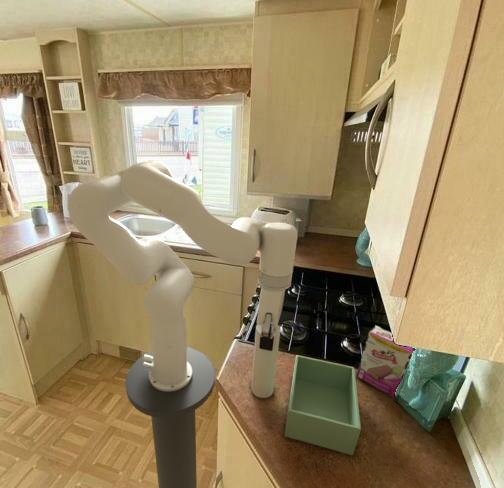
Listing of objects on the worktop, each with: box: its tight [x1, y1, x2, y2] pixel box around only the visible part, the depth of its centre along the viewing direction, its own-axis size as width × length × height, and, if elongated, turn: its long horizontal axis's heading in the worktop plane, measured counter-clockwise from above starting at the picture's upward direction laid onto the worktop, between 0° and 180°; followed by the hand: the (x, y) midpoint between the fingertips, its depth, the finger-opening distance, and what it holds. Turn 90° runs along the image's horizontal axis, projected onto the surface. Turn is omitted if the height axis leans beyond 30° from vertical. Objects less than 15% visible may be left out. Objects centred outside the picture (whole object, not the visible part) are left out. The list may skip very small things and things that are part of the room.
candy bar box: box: [355, 325, 417, 399], centre depth 86 cm, size 11×5×16 cm, turn 44°
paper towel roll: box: [250, 322, 281, 399], centre depth 82 cm, size 7×6×21 cm
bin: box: [284, 354, 362, 456], centre depth 78 cm, size 15×19×9 cm
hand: (268, 337), depth 79 cm, fingers closed on paper towel roll, 8 cm apart
